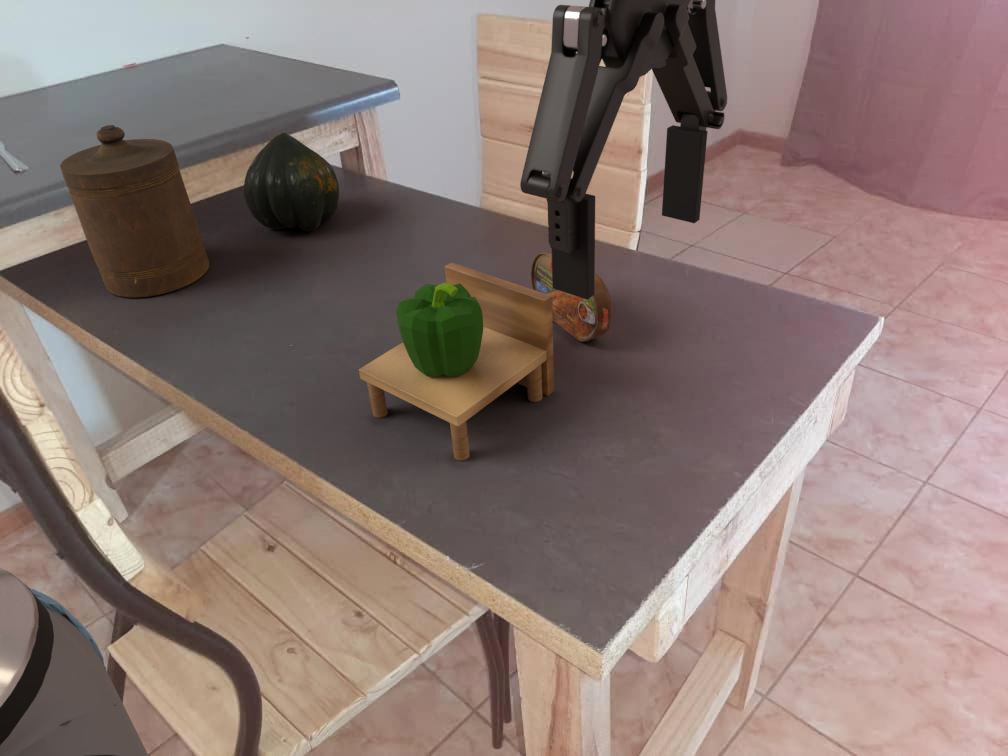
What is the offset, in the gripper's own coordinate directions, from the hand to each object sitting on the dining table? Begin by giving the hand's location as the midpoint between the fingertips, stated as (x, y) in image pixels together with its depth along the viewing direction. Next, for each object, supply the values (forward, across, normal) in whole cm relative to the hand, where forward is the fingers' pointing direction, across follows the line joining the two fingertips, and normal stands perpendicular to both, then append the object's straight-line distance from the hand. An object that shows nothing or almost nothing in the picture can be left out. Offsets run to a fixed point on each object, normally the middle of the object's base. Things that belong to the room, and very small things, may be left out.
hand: (630, 252), depth 53 cm
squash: (+27, +27, +80) cm, 89 cm away
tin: (+27, +26, +24) cm, 44 cm away
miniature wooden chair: (+27, +5, +24) cm, 36 cm away
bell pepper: (+21, +4, +24) cm, 32 cm away
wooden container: (+27, +3, +83) cm, 87 cm away
